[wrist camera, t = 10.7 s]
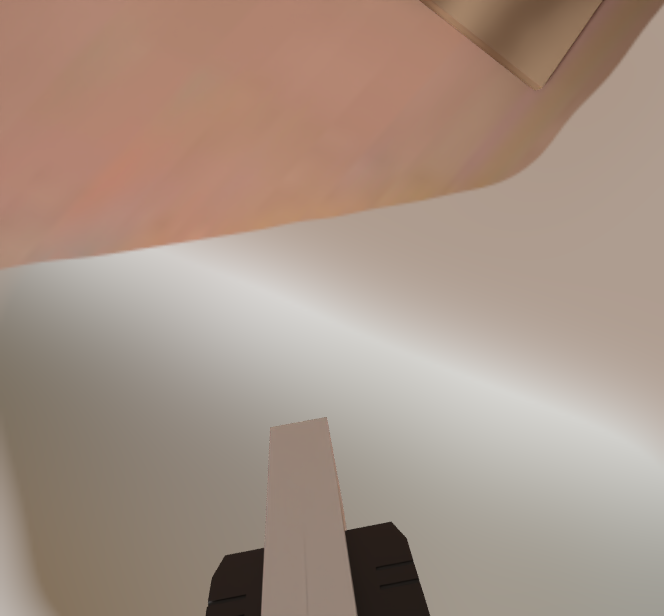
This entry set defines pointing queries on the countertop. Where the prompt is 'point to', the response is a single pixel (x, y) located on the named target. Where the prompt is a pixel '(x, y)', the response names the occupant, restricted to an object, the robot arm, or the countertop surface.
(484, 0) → the brown square base board
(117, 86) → the countertop surface
